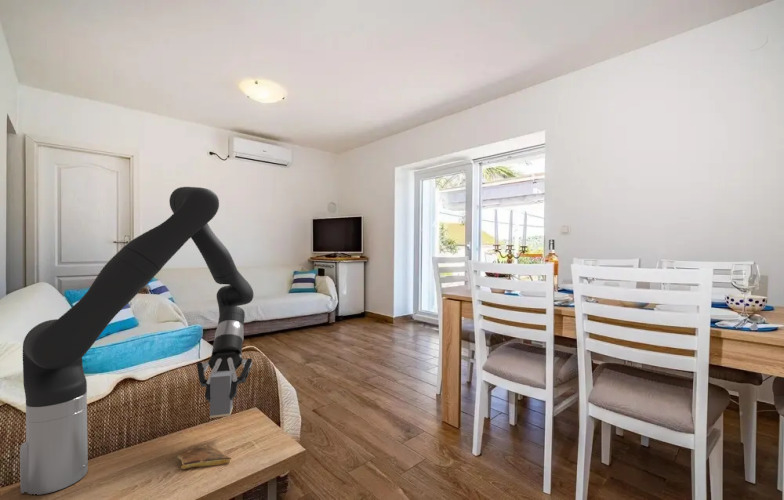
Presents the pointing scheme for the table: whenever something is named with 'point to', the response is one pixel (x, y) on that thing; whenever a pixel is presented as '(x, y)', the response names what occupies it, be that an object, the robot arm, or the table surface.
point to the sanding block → (220, 394)
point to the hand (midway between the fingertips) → (220, 399)
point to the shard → (202, 457)
